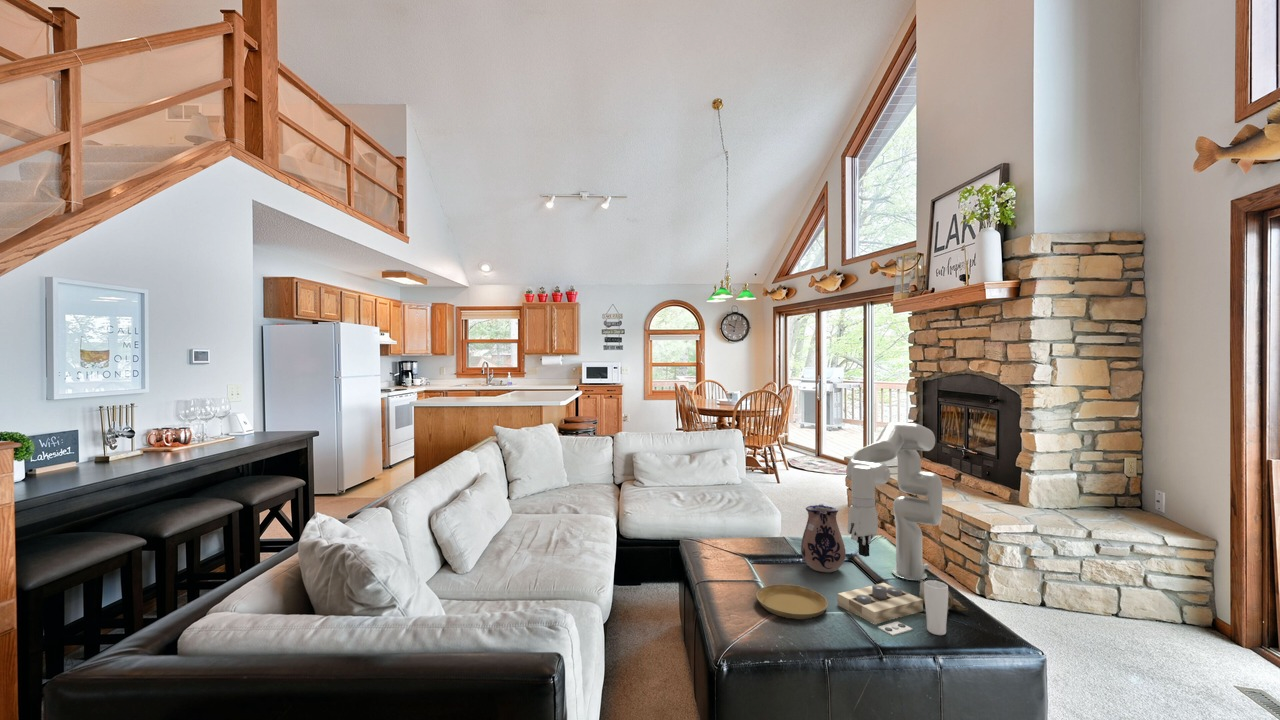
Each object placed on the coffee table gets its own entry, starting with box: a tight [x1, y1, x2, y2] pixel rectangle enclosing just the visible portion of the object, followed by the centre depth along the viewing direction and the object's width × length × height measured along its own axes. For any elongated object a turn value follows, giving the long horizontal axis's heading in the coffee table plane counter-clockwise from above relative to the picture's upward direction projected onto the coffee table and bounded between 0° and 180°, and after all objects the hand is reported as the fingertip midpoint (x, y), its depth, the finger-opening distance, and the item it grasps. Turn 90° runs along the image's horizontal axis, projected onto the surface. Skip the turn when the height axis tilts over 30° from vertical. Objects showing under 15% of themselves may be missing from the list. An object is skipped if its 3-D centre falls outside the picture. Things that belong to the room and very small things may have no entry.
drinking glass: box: [924, 579, 949, 636], centre depth 170 cm, size 7×7×15 cm
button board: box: [837, 582, 924, 625], centre depth 187 cm, size 23×16×4 cm
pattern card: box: [877, 620, 914, 637], centre depth 172 cm, size 9×6×1 cm, turn 115°
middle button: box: [871, 584, 887, 601], centre depth 187 cm, size 5×5×5 cm
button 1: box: [857, 595, 871, 605], centre depth 184 cm, size 5×5×5 cm
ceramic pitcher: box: [800, 503, 847, 573], centre depth 226 cm, size 18×21×25 cm
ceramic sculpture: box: [919, 580, 969, 615], centre depth 187 cm, size 11×9×15 cm
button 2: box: [888, 586, 903, 597], centre depth 190 cm, size 5×5×5 cm
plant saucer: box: [755, 583, 829, 620], centre depth 188 cm, size 24×24×3 cm
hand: (863, 555), depth 185 cm, fingers closed
